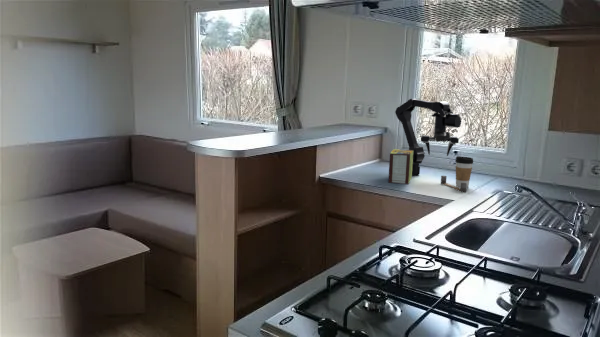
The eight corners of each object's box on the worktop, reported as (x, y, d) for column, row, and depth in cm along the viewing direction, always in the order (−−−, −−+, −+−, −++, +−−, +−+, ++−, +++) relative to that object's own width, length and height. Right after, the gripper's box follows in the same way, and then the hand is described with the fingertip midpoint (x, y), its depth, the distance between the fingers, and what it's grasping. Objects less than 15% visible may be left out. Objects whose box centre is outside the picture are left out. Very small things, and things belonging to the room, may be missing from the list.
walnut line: (467, 192, 220) (467, 183, 219) (462, 192, 219) (463, 184, 218) (444, 183, 238) (444, 175, 238) (439, 183, 238) (440, 175, 237)
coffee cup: (451, 184, 235) (453, 155, 232) (467, 184, 235) (470, 155, 232) (456, 188, 227) (458, 158, 224) (473, 188, 227) (476, 158, 224)
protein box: (411, 178, 248) (413, 150, 245) (408, 184, 234) (410, 154, 231) (392, 176, 251) (393, 148, 249) (387, 182, 237) (389, 152, 234)
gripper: (422, 126, 235) (420, 157, 238) (461, 128, 232) (458, 158, 235) (421, 124, 246) (419, 153, 249) (458, 126, 242) (455, 155, 245)
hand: (438, 155), depth 244 cm, fingers open, 9 cm apart
